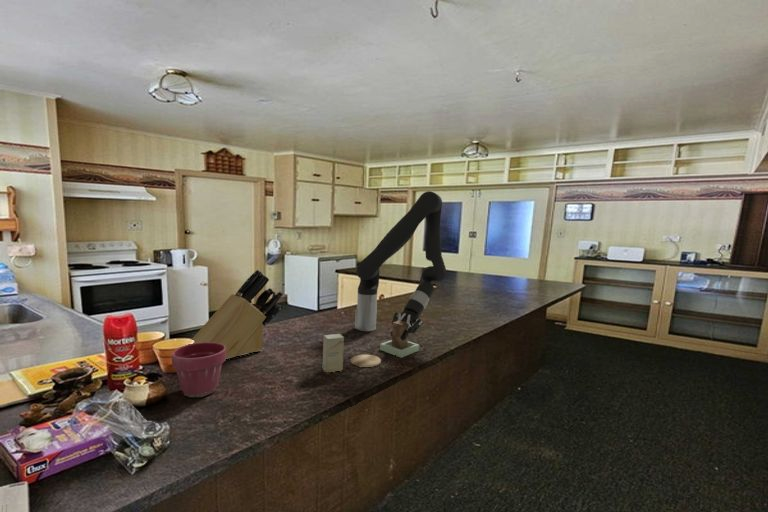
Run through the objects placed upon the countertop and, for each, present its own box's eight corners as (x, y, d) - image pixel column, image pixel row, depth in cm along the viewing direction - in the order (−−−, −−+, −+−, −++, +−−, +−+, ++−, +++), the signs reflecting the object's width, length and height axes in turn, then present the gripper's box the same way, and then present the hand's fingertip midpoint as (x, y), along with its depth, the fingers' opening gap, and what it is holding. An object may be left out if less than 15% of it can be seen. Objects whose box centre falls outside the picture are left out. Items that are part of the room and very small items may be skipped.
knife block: (284, 346, 148) (285, 270, 145) (191, 371, 123) (190, 279, 119) (270, 339, 156) (270, 267, 153) (179, 361, 130) (177, 274, 127)
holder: (380, 349, 149) (380, 343, 148) (398, 343, 157) (398, 337, 157) (401, 357, 141) (401, 351, 141) (419, 350, 149) (419, 344, 149)
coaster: (345, 364, 133) (345, 362, 133) (359, 354, 143) (359, 352, 143) (373, 370, 129) (373, 368, 129) (385, 359, 139) (385, 357, 139)
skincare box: (326, 374, 124) (326, 339, 123) (322, 369, 128) (322, 335, 127) (343, 371, 127) (344, 337, 126) (339, 366, 131) (339, 333, 130)
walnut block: (391, 348, 149) (392, 322, 148) (398, 346, 152) (400, 320, 151) (400, 352, 146) (401, 325, 145) (407, 349, 149) (408, 322, 148)
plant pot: (207, 376, 119) (207, 338, 118) (236, 388, 112) (236, 347, 111) (162, 393, 107) (161, 351, 105) (191, 408, 100) (190, 362, 98)
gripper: (400, 295, 157) (379, 328, 150) (427, 301, 148) (406, 337, 140) (407, 305, 162) (387, 338, 154) (434, 312, 152) (414, 347, 145)
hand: (397, 337), depth 147 cm, fingers closed on walnut block, 4 cm apart
